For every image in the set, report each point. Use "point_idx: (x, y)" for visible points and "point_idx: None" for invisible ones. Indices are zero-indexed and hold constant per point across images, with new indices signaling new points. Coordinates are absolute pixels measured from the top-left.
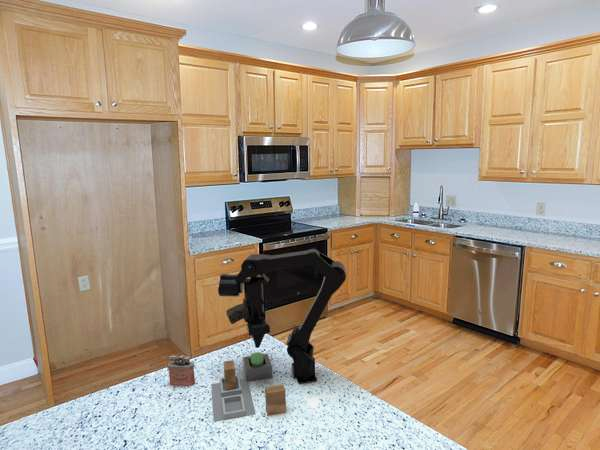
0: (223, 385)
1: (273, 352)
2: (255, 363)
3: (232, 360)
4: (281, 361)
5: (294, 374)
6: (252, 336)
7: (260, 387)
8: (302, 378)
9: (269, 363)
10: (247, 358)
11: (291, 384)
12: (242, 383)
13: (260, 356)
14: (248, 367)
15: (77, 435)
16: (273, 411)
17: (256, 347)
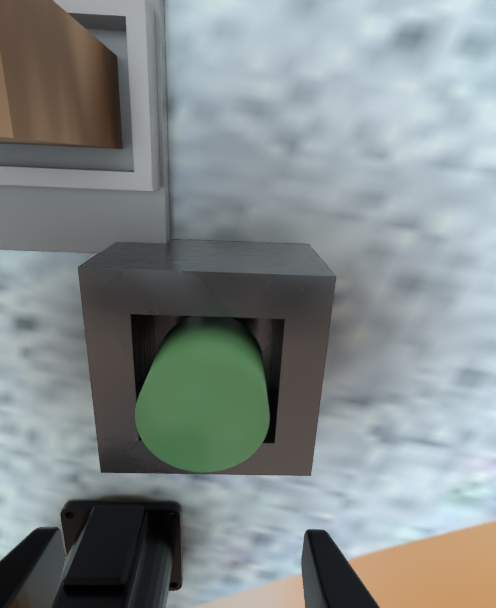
0: (105, 40)
1: (461, 459)
2: (150, 368)
3: (5, 118)
4: (332, 478)
5: (81, 534)
6: (325, 588)
7: (74, 317)
8: (73, 545)
9: (143, 462)
10: (292, 312)
11: (72, 476)
12: (102, 208)
13: (170, 446)
14: (119, 296)
15: None
16: None
17: (36, 537)
